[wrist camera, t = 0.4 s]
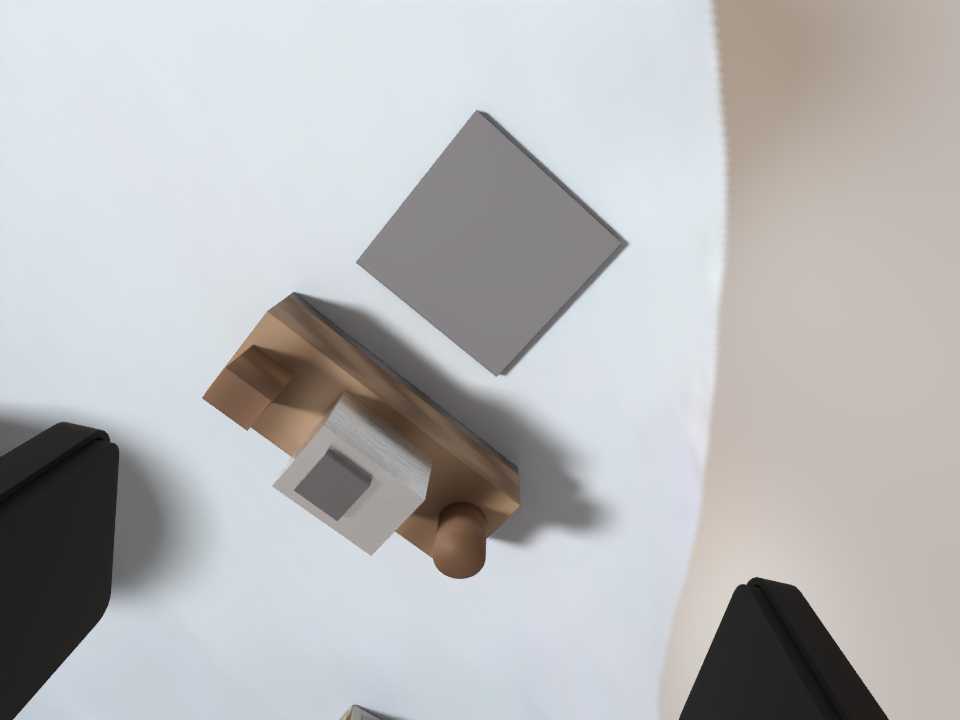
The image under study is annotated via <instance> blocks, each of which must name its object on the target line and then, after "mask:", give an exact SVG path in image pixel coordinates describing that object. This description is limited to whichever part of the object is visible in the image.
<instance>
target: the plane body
mask: <svg viewBox="0 0 960 720" xmlns="http://www.w3.org/2000/svg"><path fill="white" fill-rule="evenodd" d="M345 390H346V391H347V392H348V393H350V394H351V395H352V396H354V397H355V398H356V399H357V400H359V401H360V402H361V403H363V404H364V405H365V406H367V407H368V408H369V409H371V410H372V411H373V412H375V413H376V414H377V415H378V416H380V417H381V418H382V419H384V420H385V421H386V422H388V423H389V424H390V425H392V426H393V427H394V428H396V429H397V430H398V431H399V432H401V433H402V434H403V435H405V436H406V437H407V438H409V439H410V440H411V441H413V442H414V443H415V444H417V445H418V446H419V447H420V448H422V449H423V450H424V451H426V452H427V453H428V454H430V455H431V456H432V457H434V458H433V463H432V468H431V473H430V477H429V482H428V487H427V492H426V497H425V500H424V501H423V503H422V504H421V505H420V506H419V507H418V508H417V509H416V510H415V511H414V512H413V513H412V514H411V515H410V516H409V517H408V518H407V519H406V520H405V521H404V522H403V523H402V524H401V525H400V526H399V527H398V529H397V530H396V531H395V532H397V533H398V534H400V535H401V536H402V537H404V538H405V539H407V540H408V541H409V542H411V543H412V544H413V545H415V546H416V547H418V548H419V549H420V550H422V551H423V552H425V553H426V554H427V555H429V556H430V557H432V558H433V560H434V563H435V565H436V567H437V568H438V570H439V571H440V572H442V573H443V574H444V575H446V576H448V577H451V578H456V579H464V578H469V577H472V576H474V575H475V574H477V573H478V572H479V571H480V570H481V569H482V567H483V566H484V563H485V557H486V539H487V538H488V537H489V536H490V535H491V534H492V533H493V532H494V531H495V530H496V529H497V528H498V527H499V526H500V525H501V524H502V523H503V522H504V521H505V520H506V519H507V518H508V517H509V516H510V515H511V514H512V513H513V512H514V511H515V510H517V509H518V508H519V507H520V494H519V477H518V468H517V467H516V466H515V465H513V464H512V463H511V462H510V461H508V460H507V459H506V458H505V457H503V456H502V455H501V454H499V453H498V452H497V451H496V450H494V449H493V448H492V447H491V446H489V445H488V444H487V443H485V442H484V441H483V440H482V439H480V438H479V437H478V436H476V435H475V434H474V433H473V432H471V431H470V430H469V429H468V428H466V427H465V426H464V425H462V424H461V423H460V422H459V421H457V420H456V419H455V418H454V417H452V416H451V415H450V414H448V413H447V412H446V411H445V410H443V409H442V408H441V407H439V406H438V405H437V404H436V403H434V402H433V401H432V400H431V399H429V398H428V397H427V396H425V395H424V394H423V393H422V392H420V391H419V390H418V389H417V388H415V387H414V386H413V385H411V384H410V383H409V382H408V381H406V380H405V379H404V378H403V377H401V376H400V375H399V374H397V373H396V372H395V371H394V370H392V369H391V368H390V367H388V366H387V365H386V364H385V363H383V362H382V361H381V360H380V359H378V358H377V357H376V356H374V355H373V354H372V353H371V352H369V351H368V350H367V349H366V348H364V347H363V346H362V345H360V344H359V343H358V342H357V341H355V340H354V339H353V338H351V337H350V336H349V335H348V334H346V333H345V332H344V331H343V330H341V329H340V328H339V327H337V326H336V325H335V324H334V323H332V322H331V321H330V320H329V319H327V318H326V317H325V316H323V315H322V314H321V313H320V312H318V311H317V310H316V309H315V308H313V307H312V306H311V305H309V304H308V303H307V302H306V301H304V300H303V299H302V298H300V297H299V296H298V295H297V294H295V293H294V292H293V293H292V294H290V295H289V296H288V297H286V298H285V299H284V300H282V301H281V302H279V303H278V304H277V305H275V306H274V307H273V308H271V309H270V310H269V311H267V313H266V314H265V315H264V316H263V318H262V319H261V320H260V322H259V323H258V324H257V326H256V327H255V328H254V330H253V331H252V332H251V334H250V335H249V336H248V337H247V339H246V340H245V341H244V343H243V344H242V345H241V347H240V348H239V349H238V351H237V352H236V353H235V355H234V356H233V357H232V358H231V360H230V361H229V362H228V364H227V365H226V366H225V368H224V369H223V370H222V372H221V373H220V374H219V376H218V377H217V378H216V379H215V381H214V382H213V383H212V385H211V386H210V387H209V389H208V390H207V391H206V393H205V395H204V396H203V398H202V399H204V400H205V401H207V402H208V403H209V404H211V405H212V406H214V407H215V408H216V409H218V410H219V411H221V412H222V413H223V414H225V415H226V416H228V417H229V418H230V419H232V420H233V421H234V422H236V423H237V424H239V425H240V426H241V427H243V428H244V429H246V430H248V429H249V428H250V427H251V428H252V429H254V430H255V431H257V432H258V433H259V434H261V435H262V436H264V437H265V438H266V439H268V440H269V441H270V442H272V443H273V444H275V445H276V446H277V447H279V448H280V449H282V450H283V451H284V452H286V453H287V454H289V455H290V456H291V457H292V455H293V454H294V452H295V451H296V449H297V448H298V446H299V445H300V444H301V442H302V441H303V440H304V439H305V438H306V436H307V435H308V434H309V433H310V432H311V431H312V429H313V428H314V427H315V426H316V425H317V424H318V422H319V421H320V420H321V419H322V418H323V416H324V415H325V414H326V413H327V412H328V411H329V409H330V408H331V407H332V406H333V405H334V403H335V402H336V401H337V400H338V399H339V398H340V396H341V395H342V394H343V393H344V392H345Z"/></svg>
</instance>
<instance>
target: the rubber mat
mask: <svg viewBox="0 0 960 720" xmlns="http://www.w3.org/2000/svg"><path fill="white" fill-rule="evenodd" d="M620 244H621V242H620V241H619V240H618V239H617V238H616V237H614V236H613V235H612V234H611V233H610V232H609V231H608V230H607V229H606V228H605V227H604V226H602V225H601V224H600V223H599V222H598V221H597V220H596V219H595V218H594V217H593V216H592V215H590V214H589V213H588V212H587V211H586V210H585V209H584V208H583V207H582V206H581V205H580V204H579V203H577V202H576V201H575V200H574V199H573V198H572V197H571V196H570V195H569V194H568V193H567V192H565V191H564V190H563V189H562V188H561V187H560V186H559V185H558V184H557V183H556V182H555V181H553V180H552V179H551V178H550V177H549V176H548V175H547V174H546V173H545V172H544V171H543V170H541V169H540V168H539V167H538V166H537V165H536V164H535V163H534V162H533V161H532V160H531V159H529V158H528V157H527V156H526V155H525V154H524V153H523V152H522V151H521V150H520V149H519V148H518V147H516V146H515V145H514V144H513V143H512V142H511V141H510V140H509V139H508V138H507V137H506V136H504V135H503V134H502V133H501V132H500V131H499V130H498V129H497V128H496V127H495V126H494V125H492V124H491V123H490V122H489V121H488V120H487V119H486V118H485V117H484V116H483V115H482V114H480V113H479V112H478V111H477V110H476V111H475V112H474V114H473V115H472V116H471V118H470V119H469V120H468V121H467V123H466V124H465V125H464V126H463V128H462V129H461V130H460V131H459V133H458V134H457V135H456V136H455V138H454V139H453V140H452V142H451V143H450V144H449V145H448V147H447V148H446V149H445V150H444V152H443V153H442V154H441V155H440V157H439V158H438V159H437V161H436V162H435V163H434V164H433V166H432V167H431V168H430V169H429V171H428V172H427V173H426V174H425V176H424V177H423V178H422V179H421V181H420V182H419V183H418V185H417V186H416V187H415V188H414V190H413V191H412V192H411V193H410V195H409V196H408V197H407V198H406V200H405V201H404V202H403V203H402V205H401V206H400V207H399V209H398V210H397V211H396V212H395V214H394V215H393V216H392V217H391V219H390V220H389V221H388V222H387V224H386V225H385V226H384V227H383V229H382V230H381V231H380V233H379V234H378V235H377V236H376V238H375V239H374V240H373V241H372V243H371V244H370V245H369V246H368V248H367V249H366V250H365V251H364V253H363V254H362V255H361V257H360V258H359V259H358V260H357V262H356V263H357V264H358V265H360V266H361V267H362V268H363V269H365V270H366V271H367V272H368V273H369V274H371V275H372V276H373V277H374V278H376V279H377V280H378V281H379V282H380V283H382V284H383V285H384V286H385V287H387V288H388V289H389V290H390V291H392V292H393V293H394V294H395V295H396V296H398V297H399V298H400V299H401V300H403V301H404V302H405V303H406V304H407V305H409V306H410V307H411V308H412V309H414V310H415V311H416V312H417V313H419V314H420V315H421V316H422V317H423V318H425V319H426V320H427V321H428V322H430V323H431V324H432V325H433V326H434V327H436V328H437V329H438V330H439V331H441V332H442V333H443V334H444V335H446V336H447V337H448V338H449V339H450V340H452V341H453V342H454V343H455V344H457V345H458V346H459V347H460V348H461V349H463V350H464V351H465V352H466V353H468V354H469V355H470V356H471V357H473V358H474V359H475V360H476V361H477V362H479V363H480V364H481V365H482V366H484V367H485V368H486V369H487V370H488V371H490V372H491V373H492V374H493V375H495V376H496V377H497V376H498V375H499V374H500V373H501V371H502V370H503V369H504V368H505V367H506V366H507V365H508V364H509V363H510V362H511V361H512V360H513V359H514V358H515V356H516V355H517V354H518V353H519V352H520V351H521V350H522V349H523V348H524V347H525V346H526V345H527V344H528V343H529V341H530V340H531V339H532V338H533V337H534V336H535V335H536V334H537V333H538V332H539V331H540V330H541V329H542V328H543V326H544V325H545V324H546V323H547V322H548V321H549V320H550V319H551V318H552V317H553V316H554V315H555V314H556V313H557V311H558V310H559V309H560V308H561V307H562V306H563V305H564V304H565V303H566V302H567V301H568V300H569V299H570V298H571V296H572V295H573V294H574V293H575V292H576V291H577V290H578V289H579V288H580V287H581V286H582V285H583V284H584V283H585V281H586V280H587V279H588V278H589V277H590V276H591V275H592V274H593V273H594V272H595V271H596V270H597V269H598V268H599V266H600V265H601V264H602V263H603V262H604V261H605V260H606V259H607V258H608V257H609V256H610V255H611V254H612V253H613V251H614V250H615V249H616V248H617V247H618V246H619V245H620Z"/></svg>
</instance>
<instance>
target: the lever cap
mask: <svg viewBox="0 0 960 720" xmlns="http://www.w3.org/2000/svg"><path fill="white" fill-rule="evenodd" d="M433 458H434V457H432V456H431V455H430V454H428V453H427V452H426V451H424V450H423V449H422V448H420V447H419V446H418V445H417V444H415V443H414V442H413V441H411V440H410V439H409V438H407V437H406V436H405V435H403V434H402V433H401V432H399V431H398V430H397V429H396V428H394V427H393V426H392V425H390V424H389V423H388V422H386V421H385V420H384V419H382V418H381V417H380V416H378V415H377V414H376V413H375V412H373V411H372V410H371V409H369V408H368V407H367V406H365V405H364V404H363V403H361V402H360V401H359V400H357V399H356V398H355V397H354V396H352V395H351V394H350V393H348V392H347V391H346V390H345V392H344V393H343V394H342V395H341V396H340V398H339V399H338V400H337V401H336V402H335V403H334V405H333V406H332V407H331V408H330V409H329V411H328V412H327V413H326V414H325V415H324V416H323V418H322V419H321V420H320V421H319V422H318V424H317V425H316V426H315V427H314V428H313V429H312V431H311V432H310V433H309V434H308V435H307V436H306V438H305V439H304V440H303V441H302V442H301V444H300V445H299V446H298V448H297V449H296V451H295V452H294V454H293V455H292V457H291V458H290V460H289V461H288V463H287V464H286V466H285V467H284V469H283V471H282V472H281V474H280V475H279V477H278V478H277V480H276V481H275V483H274V484H273V487H274V488H276V489H277V490H278V491H280V492H281V493H283V494H284V495H286V496H287V497H288V498H290V499H291V500H293V501H294V502H295V503H297V504H298V505H300V506H301V507H303V508H304V509H305V510H307V511H308V512H310V513H311V514H312V515H314V516H315V517H317V518H318V519H320V520H321V521H322V522H324V523H325V524H327V525H328V526H330V527H331V528H332V529H334V530H335V531H337V532H338V533H339V534H341V535H342V536H344V537H345V538H347V539H348V540H349V541H351V542H352V543H354V544H355V545H357V546H358V547H359V548H361V549H362V550H364V551H365V552H366V553H368V554H369V555H371V556H372V554H373V553H374V552H375V551H376V550H377V549H378V548H379V547H380V546H381V545H382V544H383V543H384V542H385V541H386V540H387V539H388V538H389V537H390V536H391V535H392V534H393V533H394V532H395V531H396V530H397V529H398V527H399V526H400V525H401V524H402V523H403V522H404V521H405V520H406V519H407V518H408V517H409V516H410V515H411V514H412V513H413V512H414V511H415V510H416V509H417V508H418V507H419V506H420V505H421V504H422V503H423V501H424V500H425V497H426V492H427V487H428V482H429V477H430V473H431V468H432V463H433Z"/></svg>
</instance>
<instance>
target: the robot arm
mask: <svg viewBox="0 0 960 720" xmlns="http://www.w3.org/2000/svg"><path fill="white" fill-rule="evenodd" d="M118 465H119V449H118V446H117V445H116V444H114V443H110V439H109V436H108V434H107V433H106V432H105V431H103V430H99V429H94V428H90V427H85V426H81V425H76V424H72V423H67V422H61V423H58V424H56V425H54V426H52V427H51V428H49V429H47V430H45V431H44V432H42V433H40V434H39V435H37V436H35V437H34V438H32V439H30V440H29V441H27V442H25V443H23V444H22V445H20V446H18V447H17V448H15V449H13V450H12V451H10V452H8V453H7V454H5V455H3V456H1V457H0V720H13V719H14V718H15V717H16V716H17V714H18V713H19V712H20V711H21V710H22V709H23V708H24V706H25V705H26V704H27V703H28V702H29V701H30V700H31V698H32V697H33V696H34V695H35V694H36V693H37V692H38V690H39V689H40V688H41V687H42V686H43V685H44V684H45V682H46V681H47V680H48V679H49V678H50V677H51V676H52V674H53V673H54V672H55V671H56V670H57V669H58V668H59V666H60V665H61V664H62V663H63V662H64V661H65V660H66V658H67V657H68V656H69V655H70V654H71V653H72V652H73V650H74V649H75V648H76V647H77V646H78V645H79V644H80V642H81V641H82V640H83V639H84V638H85V637H86V636H87V634H88V633H89V632H90V631H91V630H92V629H93V628H94V626H95V625H96V624H97V623H98V622H99V620H100V619H101V618H102V616H103V614H104V613H105V611H106V608H107V606H108V603H109V600H110V595H111V582H112V565H113V548H114V532H115V515H116V498H117V481H118ZM679 720H889V719H888V718H887V716H886V715H885V713H884V712H883V710H882V709H881V708H880V706H879V705H878V703H877V702H876V700H875V699H874V697H873V696H872V694H871V693H870V691H869V690H868V689H867V687H866V686H865V684H864V683H863V681H862V680H861V678H860V677H859V676H858V674H857V673H856V671H855V670H854V668H853V667H852V666H851V664H850V663H849V661H848V660H847V658H846V657H845V655H844V654H843V652H842V651H841V650H840V648H839V647H838V645H837V644H836V643H835V641H834V639H833V638H832V637H831V635H830V634H829V632H828V631H827V629H826V628H825V627H824V625H823V624H822V622H821V621H820V619H819V618H818V616H817V615H816V614H815V612H814V611H813V609H812V608H811V606H810V605H809V603H808V602H807V600H806V599H805V598H804V596H803V595H802V593H801V592H800V591H799V590H798V589H797V588H796V587H795V586H793V585H789V584H785V583H780V582H776V581H772V580H767V579H763V578H758V577H756V578H752V579H751V580H750V581H749V582H748V583H747V585H745V584H741V585H739V586H738V587H737V588H736V590H735V591H734V593H733V595H732V598H731V600H730V602H729V604H728V607H727V609H726V611H725V614H724V616H723V618H722V621H721V623H720V625H719V628H718V630H717V632H716V634H715V637H714V639H713V641H712V644H711V646H710V648H709V651H708V653H707V655H706V657H705V660H704V662H703V665H702V667H701V669H700V671H699V674H698V676H697V678H696V681H695V683H694V685H693V688H692V690H691V692H690V694H689V697H688V699H687V702H686V704H685V706H684V708H683V711H682V713H681V715H680V718H679Z"/></svg>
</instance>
